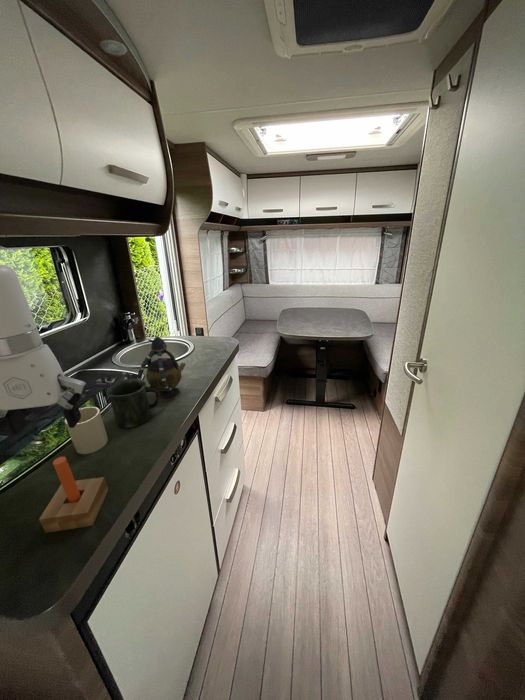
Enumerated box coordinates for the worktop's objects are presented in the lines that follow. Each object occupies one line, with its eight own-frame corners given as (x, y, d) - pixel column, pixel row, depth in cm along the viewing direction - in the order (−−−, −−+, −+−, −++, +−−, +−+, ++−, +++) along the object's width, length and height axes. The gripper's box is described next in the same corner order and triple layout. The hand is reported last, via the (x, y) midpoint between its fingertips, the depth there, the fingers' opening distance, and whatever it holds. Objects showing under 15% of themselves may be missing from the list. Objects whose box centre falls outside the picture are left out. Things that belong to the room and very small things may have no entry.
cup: (70, 456, 76) (58, 426, 72) (83, 436, 83) (73, 408, 80) (101, 452, 77) (92, 422, 73) (112, 432, 84) (104, 405, 81)
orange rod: (71, 514, 60) (50, 465, 54) (76, 505, 62) (56, 457, 56) (82, 513, 60) (62, 463, 54) (87, 504, 62) (68, 455, 56)
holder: (45, 533, 56) (38, 519, 55) (67, 494, 64) (62, 482, 63) (92, 525, 57) (87, 512, 56) (108, 489, 65) (104, 476, 64)
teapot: (140, 407, 97) (125, 345, 88) (172, 373, 120) (162, 322, 111) (172, 409, 95) (160, 346, 86) (198, 375, 118) (191, 322, 109)
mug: (118, 413, 94) (109, 382, 89) (163, 404, 98) (157, 374, 93) (112, 433, 84) (102, 399, 80) (162, 422, 88) (156, 390, 84)
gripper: (-68, 357, 42) (-18, 447, 48) (56, 346, 44) (88, 433, 50) (-27, 340, 48) (11, 420, 55) (78, 331, 50) (103, 409, 57)
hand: (48, 426), depth 53 cm, fingers open, 9 cm apart
